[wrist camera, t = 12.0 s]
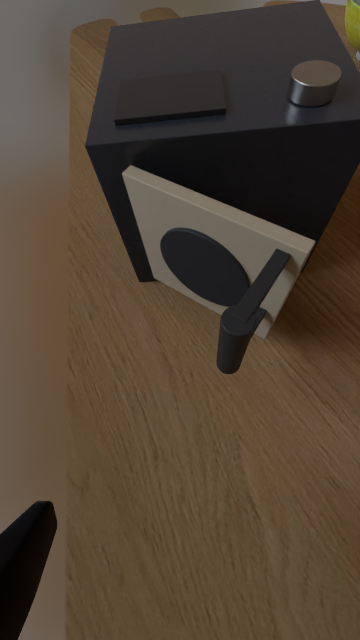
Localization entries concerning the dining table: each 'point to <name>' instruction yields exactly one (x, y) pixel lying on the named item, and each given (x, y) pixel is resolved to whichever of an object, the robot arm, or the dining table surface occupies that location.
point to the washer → (230, 115)
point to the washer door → (217, 258)
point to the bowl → (353, 24)
